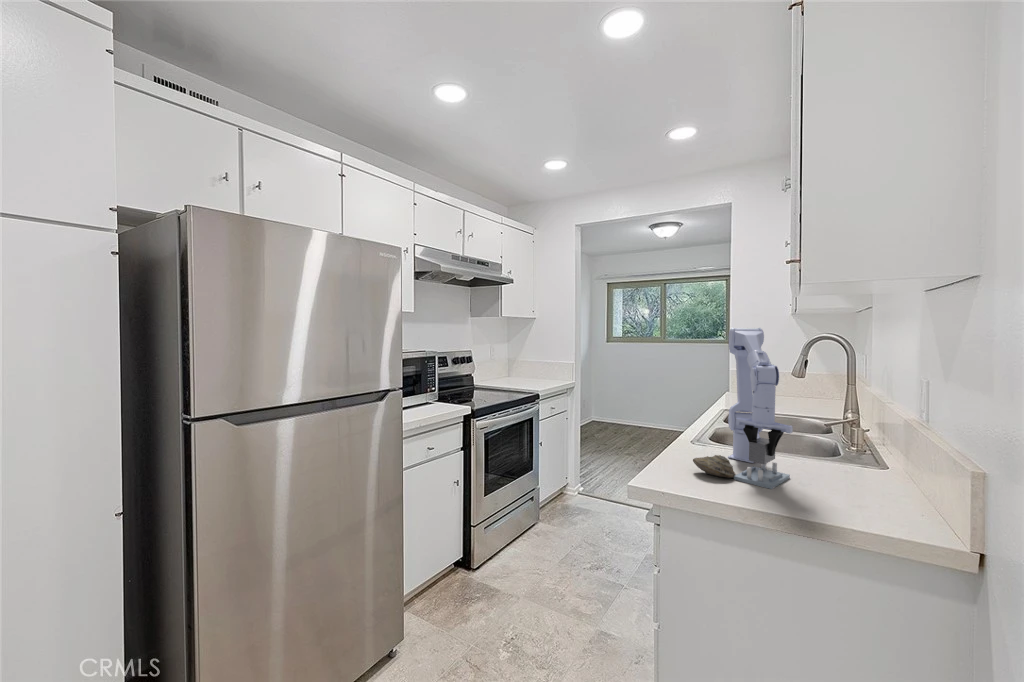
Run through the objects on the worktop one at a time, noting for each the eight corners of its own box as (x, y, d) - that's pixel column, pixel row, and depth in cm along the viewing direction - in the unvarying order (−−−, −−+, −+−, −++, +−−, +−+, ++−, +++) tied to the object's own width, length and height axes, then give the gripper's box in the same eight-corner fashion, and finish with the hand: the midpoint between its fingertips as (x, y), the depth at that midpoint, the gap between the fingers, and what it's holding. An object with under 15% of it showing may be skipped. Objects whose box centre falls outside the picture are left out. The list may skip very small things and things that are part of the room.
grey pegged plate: (753, 469, 137) (753, 456, 137) (789, 478, 130) (789, 464, 130) (733, 479, 128) (734, 465, 128) (771, 489, 121) (772, 474, 120)
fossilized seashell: (728, 478, 124) (721, 452, 127) (692, 482, 131) (686, 458, 133) (740, 476, 132) (734, 452, 134) (705, 480, 139) (699, 457, 141)
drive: (759, 455, 133) (760, 437, 133) (775, 458, 130) (775, 440, 129) (748, 460, 128) (749, 441, 127) (764, 464, 124) (765, 444, 124)
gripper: (731, 405, 131) (731, 450, 132) (786, 412, 120) (785, 461, 121) (741, 402, 136) (740, 446, 136) (795, 409, 125) (794, 457, 125)
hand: (762, 453), depth 129 cm, fingers closed on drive, 4 cm apart
